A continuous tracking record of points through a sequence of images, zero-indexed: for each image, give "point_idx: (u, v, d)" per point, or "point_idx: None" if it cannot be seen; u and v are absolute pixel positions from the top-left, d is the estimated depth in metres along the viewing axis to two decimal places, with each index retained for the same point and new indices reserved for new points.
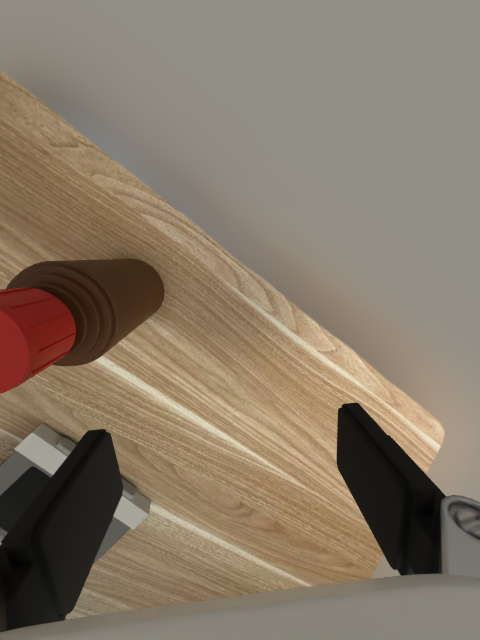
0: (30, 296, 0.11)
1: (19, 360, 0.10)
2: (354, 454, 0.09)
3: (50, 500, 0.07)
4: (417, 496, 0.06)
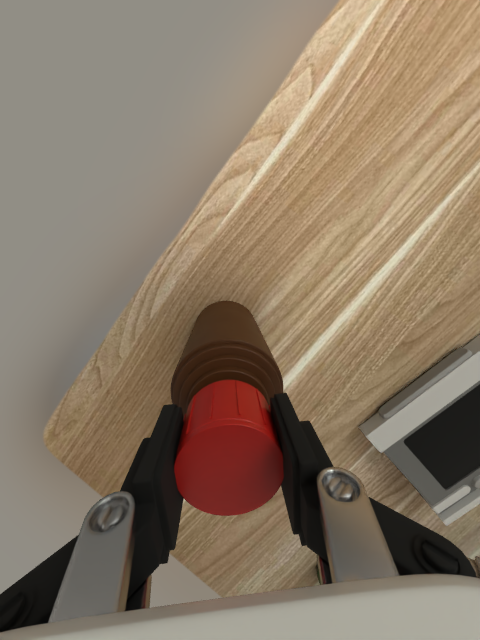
0: (187, 415, 0.10)
1: (244, 434, 0.09)
2: None
3: (157, 455, 0.08)
4: (302, 468, 0.07)
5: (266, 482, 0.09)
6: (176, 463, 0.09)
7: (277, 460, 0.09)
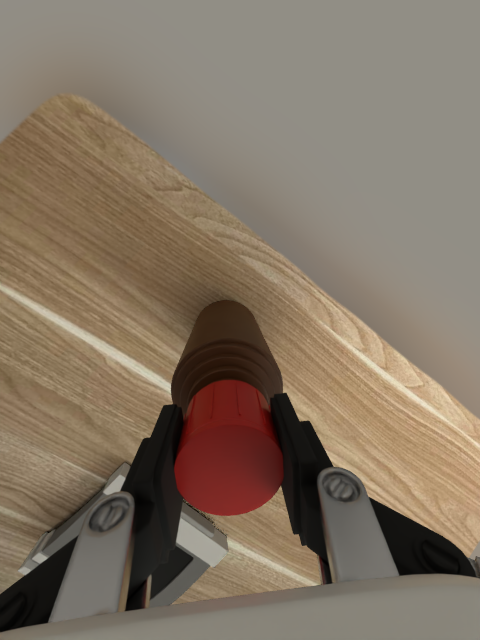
0: (187, 415, 0.10)
1: (244, 435, 0.09)
2: None
3: (157, 455, 0.08)
4: (303, 468, 0.07)
5: (266, 482, 0.09)
6: (176, 463, 0.09)
7: (277, 460, 0.09)
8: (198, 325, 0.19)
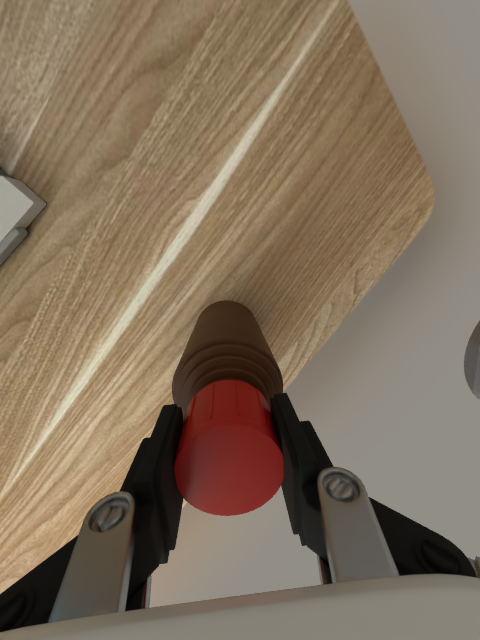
0: (187, 415, 0.10)
1: (244, 435, 0.09)
2: None
3: (157, 455, 0.08)
4: (303, 468, 0.07)
5: (266, 482, 0.09)
6: (176, 463, 0.09)
7: (277, 460, 0.09)
8: (258, 328, 0.19)
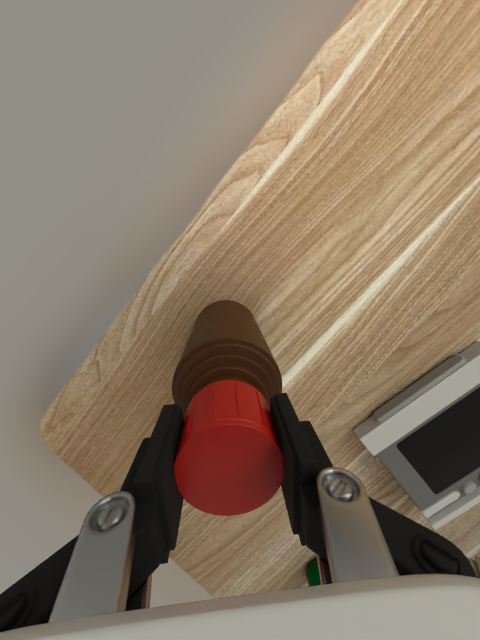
0: (187, 415, 0.10)
1: (244, 435, 0.09)
2: None
3: (157, 455, 0.08)
4: (302, 468, 0.07)
5: (266, 482, 0.09)
6: (175, 463, 0.09)
7: (277, 460, 0.09)
8: None
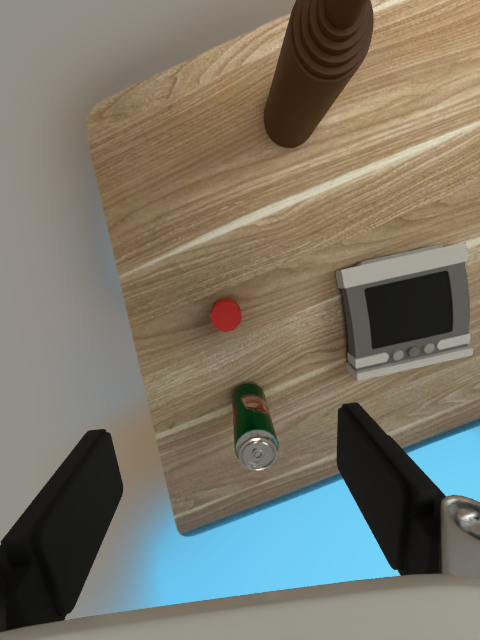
0: (213, 306, 0.34)
1: (229, 305, 0.32)
2: (354, 454, 0.09)
3: (50, 500, 0.07)
4: (417, 496, 0.06)
5: (236, 320, 0.33)
6: (211, 313, 0.32)
7: (238, 313, 0.33)
8: (274, 87, 0.24)
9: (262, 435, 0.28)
